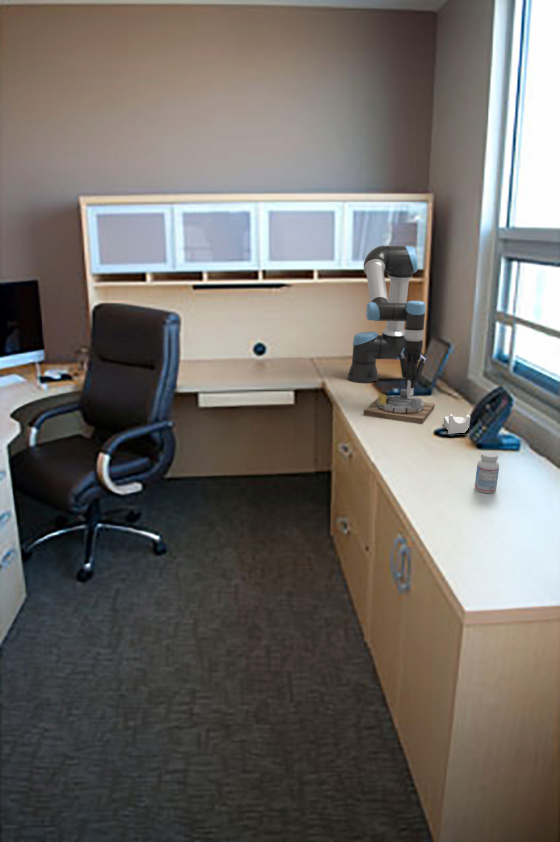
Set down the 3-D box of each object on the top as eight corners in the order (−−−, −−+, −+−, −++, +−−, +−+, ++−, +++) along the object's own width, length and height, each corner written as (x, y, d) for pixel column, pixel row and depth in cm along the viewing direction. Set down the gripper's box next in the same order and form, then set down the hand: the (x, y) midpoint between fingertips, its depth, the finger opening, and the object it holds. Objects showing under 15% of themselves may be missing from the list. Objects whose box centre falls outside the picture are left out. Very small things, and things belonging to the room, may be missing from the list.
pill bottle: (479, 484, 190) (483, 448, 187) (499, 489, 187) (503, 453, 183) (470, 490, 186) (475, 454, 182) (491, 495, 182) (495, 459, 179)
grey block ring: (375, 411, 254) (376, 399, 252) (378, 398, 271) (378, 387, 270) (424, 414, 250) (425, 402, 249) (423, 401, 268) (424, 390, 267)
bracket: (468, 436, 234) (470, 417, 231) (448, 435, 234) (450, 416, 232) (461, 425, 246) (463, 407, 244) (443, 424, 246) (445, 406, 244)
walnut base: (379, 400, 277) (380, 391, 275) (434, 408, 268) (435, 397, 266) (363, 415, 256) (364, 404, 254) (422, 423, 247) (423, 412, 245)
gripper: (432, 340, 257) (427, 396, 264) (406, 336, 265) (402, 390, 272) (421, 342, 252) (417, 399, 259) (395, 338, 260) (392, 393, 268)
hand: (409, 395), depth 266 cm, fingers closed
